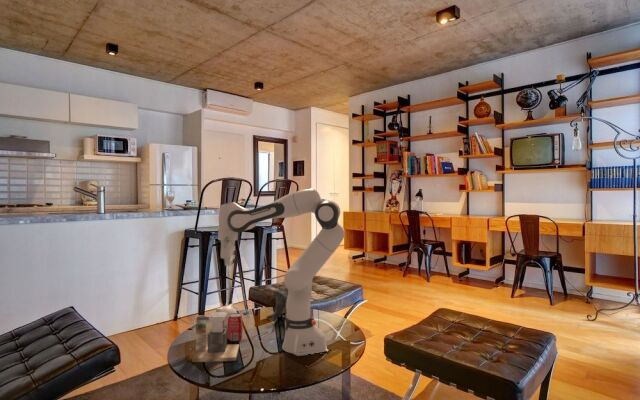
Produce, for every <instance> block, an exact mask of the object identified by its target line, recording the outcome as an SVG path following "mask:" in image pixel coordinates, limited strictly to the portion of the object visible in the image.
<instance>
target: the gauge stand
mask: <svg viewBox="0 0 640 400" xmlns="http://www.w3.org/2000/svg"><path fill="white" fill-rule="evenodd" d="M197 317H207V314H206V315H196V318H197ZM195 322H196V325H195V327H196V328H195V334H196V335H195V352H194V354H193V356H192V358H191V362H192V363H207V362H236V361H237V359H238V358H237V357H238V353H239V349H240V344H237V343H236V344H235V343H234V344H232V343H230V344H229V343H228V330H227V328H224V333H221V334H212V328H210V330H209V332H208V333H207V320H197V319H196V321H195ZM198 326H201V329H198ZM207 334H208V335H207ZM207 336H208V337H207ZM206 341H207V343H206Z"/></svg>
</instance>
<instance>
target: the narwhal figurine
mask: <svg viewBox="0 0 640 400" xmlns="http://www.w3.org/2000/svg"><path fill="white" fill-rule="evenodd" d="M268 290H270V292H271V293H272V294H273V295H272V296H271V297H270V298H269V299H268V302H270V301H272V300H273V299H275V303H276V304H275V311H274V312H272V313H271V314H269V315H267V316H266V319H267V318H270V319H271V320H272V321H275V320H276V319H277V320H278V319H279V318H278V316H279V315H280V314H283V313H285V314H286V313H287V297H288V292H289V289H287V288H286V286H285V287H284V286H281V287H279V288H278V290H274V289H272V288H268Z"/></svg>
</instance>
